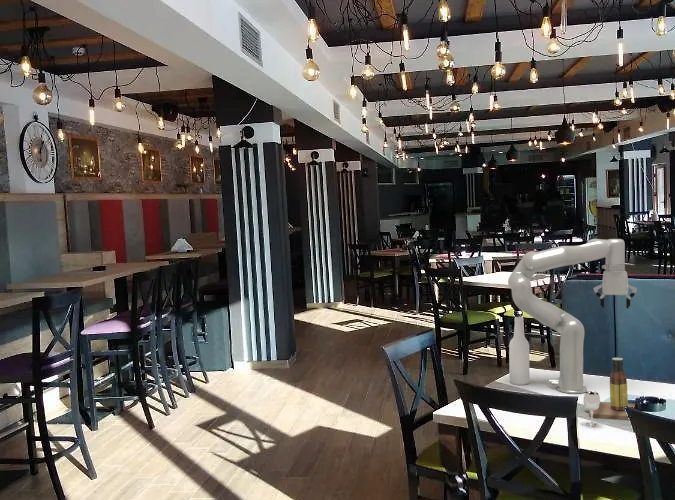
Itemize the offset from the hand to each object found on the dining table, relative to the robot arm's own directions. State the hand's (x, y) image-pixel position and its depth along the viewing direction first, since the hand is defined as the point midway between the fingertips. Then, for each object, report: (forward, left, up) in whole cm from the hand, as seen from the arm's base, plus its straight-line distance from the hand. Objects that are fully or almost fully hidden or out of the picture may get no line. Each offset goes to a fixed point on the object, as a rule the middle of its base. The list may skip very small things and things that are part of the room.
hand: (615, 307), depth 284 cm
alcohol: (-40, +4, -36) cm, 54 cm away
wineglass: (-13, -47, -36) cm, 61 cm away
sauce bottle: (-2, -31, -35) cm, 47 cm away
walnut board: (-3, -31, -36) cm, 48 cm away
